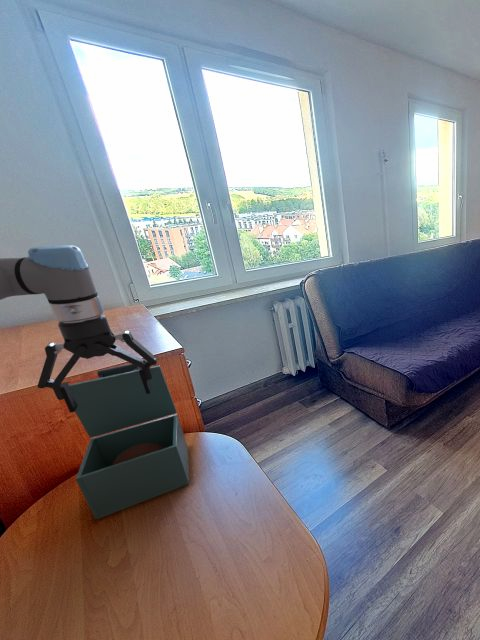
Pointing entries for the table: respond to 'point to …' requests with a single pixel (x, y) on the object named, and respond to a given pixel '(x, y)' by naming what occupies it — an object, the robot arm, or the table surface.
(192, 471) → the table surface
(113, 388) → the lid
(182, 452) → the chest
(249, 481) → the table surface
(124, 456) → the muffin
